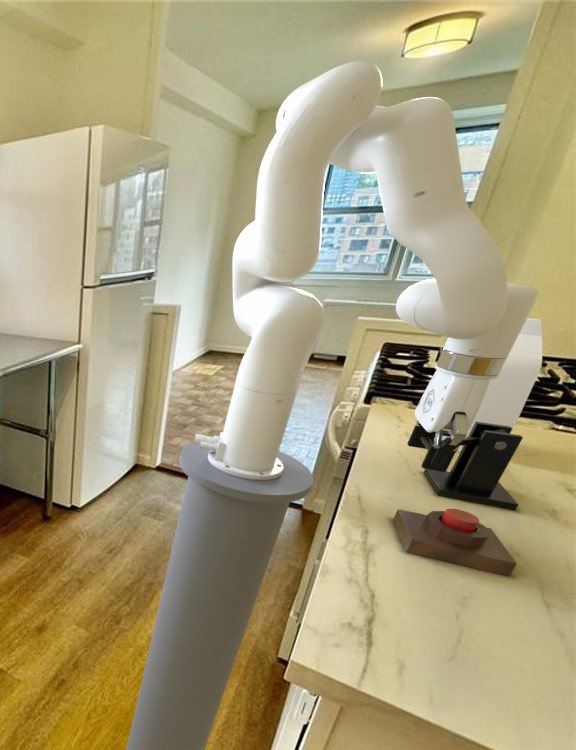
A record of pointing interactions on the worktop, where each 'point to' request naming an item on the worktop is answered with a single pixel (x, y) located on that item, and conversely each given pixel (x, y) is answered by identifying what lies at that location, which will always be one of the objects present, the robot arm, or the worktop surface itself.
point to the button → (460, 520)
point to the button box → (452, 542)
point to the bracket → (479, 469)
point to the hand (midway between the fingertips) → (425, 457)
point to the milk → (512, 380)
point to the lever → (465, 441)
